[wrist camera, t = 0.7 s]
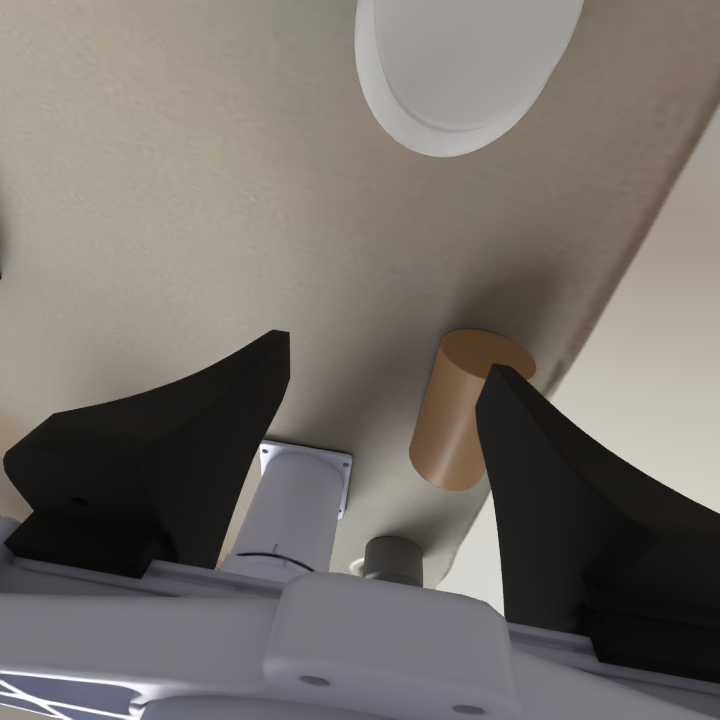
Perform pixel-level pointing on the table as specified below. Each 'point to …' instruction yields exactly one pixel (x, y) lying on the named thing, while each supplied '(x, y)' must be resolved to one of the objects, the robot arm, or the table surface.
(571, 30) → the pill bottle
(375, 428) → the table surface
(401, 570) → the candle holder
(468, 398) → the brown cylinder
